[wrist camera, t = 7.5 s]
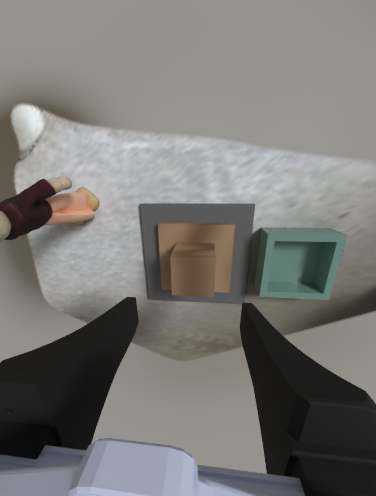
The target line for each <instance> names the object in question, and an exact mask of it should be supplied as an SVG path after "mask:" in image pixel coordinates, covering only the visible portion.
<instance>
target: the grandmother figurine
mask: <svg viewBox="0 0 376 496" xmlns="http://www.w3.org/2000/svg"><path fill="white" fill-rule="evenodd" d="M71 186H72V182H71V180H70V179H69V178H68V177H66V176H61V177H58V178H57V179H55V178H53V179H49V180H45V179H42V180H39V181H38V182H36V183H35V184H33V185H32V186H30V187H29V188H27V189H26V190H24V191H22V192H21V193H20V194H18V195H16V196H14V197H12V198H9V199H6V200H4V201H2V202H0V242H1V241H3V240H13V239H16V238H19V237H24V236H26V234H27V233H29V232H31V231H33V230H36V229H38V228H40V227H42V226H43V225H53V224H61V223H70V222H71V223H73V224H75V225H81V224H83V223H84V222H85V221H86V220H90V219H93V218H94V216H95V212H94V211H95V210H96V209H97V208H98V207H99V200H98V198H97V197H96V196H95V195H94V194H93V193H91V192H90V191H89V190H87V189H86V188H83V187H81V188H79V189H78V190H77V191H76V193H67V194H59V195H55V194H56V193H58V192H61V191H62V190H67V189H70V188H71ZM53 195H55V196H53ZM51 196H52V197H51Z"/></svg>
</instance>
